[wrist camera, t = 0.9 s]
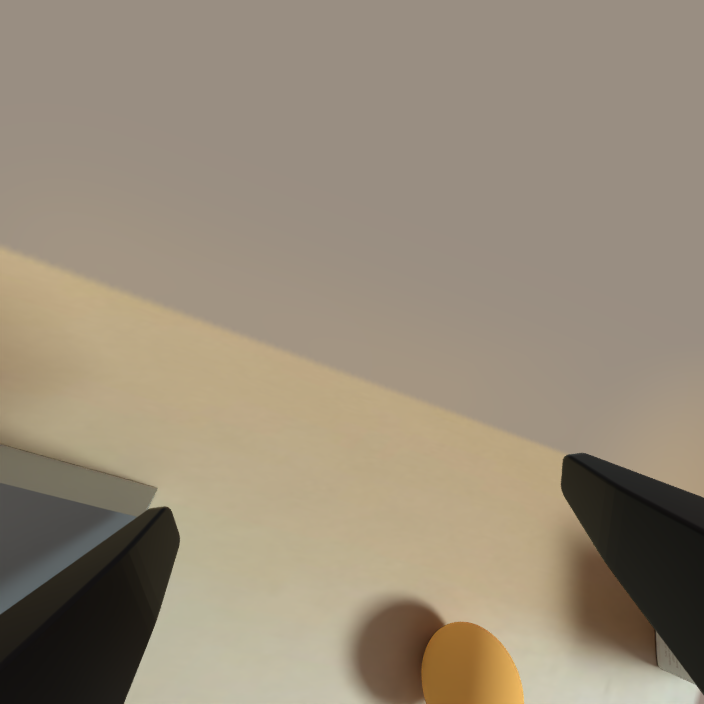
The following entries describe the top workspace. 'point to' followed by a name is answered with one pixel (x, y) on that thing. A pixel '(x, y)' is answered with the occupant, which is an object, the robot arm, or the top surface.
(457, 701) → the ball
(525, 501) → the top surface
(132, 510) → the pale grey box
